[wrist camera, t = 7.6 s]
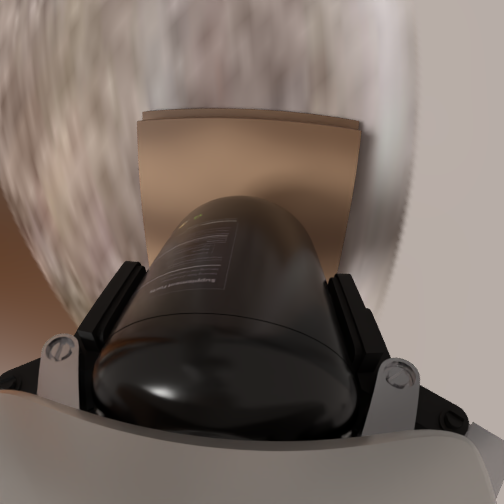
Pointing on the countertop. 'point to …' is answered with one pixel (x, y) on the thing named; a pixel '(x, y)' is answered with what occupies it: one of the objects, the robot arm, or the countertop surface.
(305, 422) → the supplement bottle
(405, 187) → the countertop surface
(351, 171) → the walnut pedestal
